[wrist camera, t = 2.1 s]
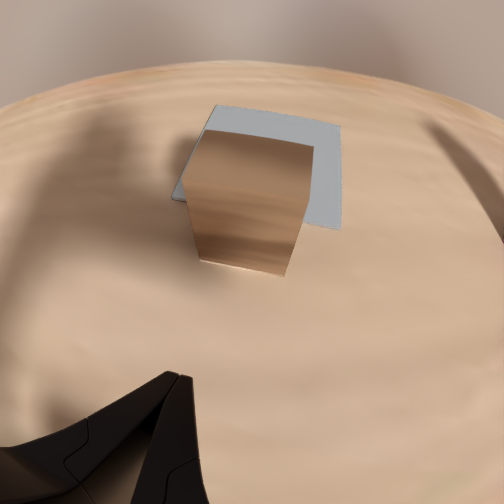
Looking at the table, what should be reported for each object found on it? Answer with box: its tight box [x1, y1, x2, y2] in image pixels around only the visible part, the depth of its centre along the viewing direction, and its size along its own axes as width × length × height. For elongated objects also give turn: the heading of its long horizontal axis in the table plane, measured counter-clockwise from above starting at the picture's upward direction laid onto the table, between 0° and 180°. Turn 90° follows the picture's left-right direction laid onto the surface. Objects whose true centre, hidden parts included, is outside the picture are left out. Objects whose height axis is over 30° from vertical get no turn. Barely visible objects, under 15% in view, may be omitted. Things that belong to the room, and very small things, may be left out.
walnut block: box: [181, 129, 314, 277], centre depth 21 cm, size 4×7×10 cm, turn 79°
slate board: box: [171, 105, 342, 230], centre depth 30 cm, size 16×16×1 cm
